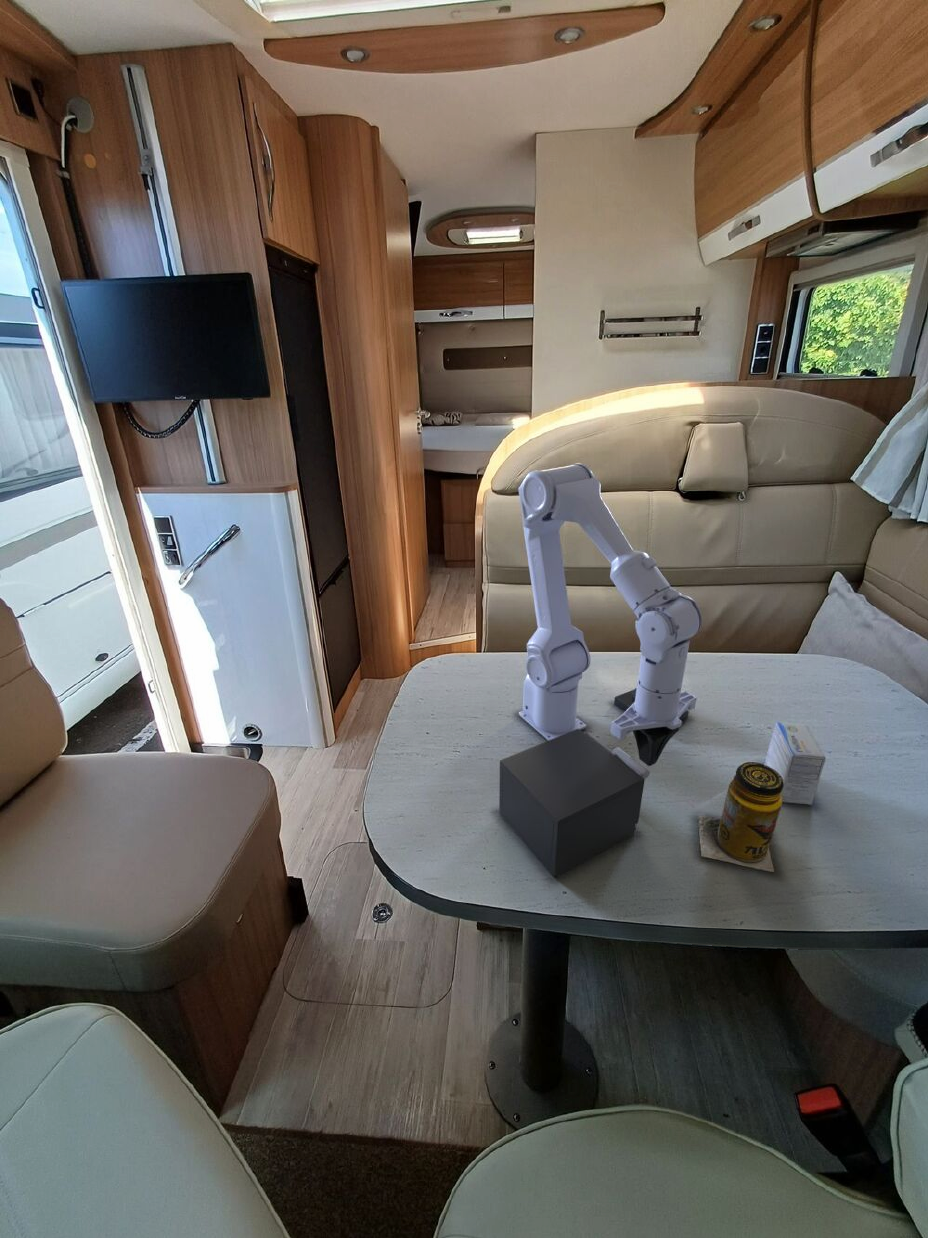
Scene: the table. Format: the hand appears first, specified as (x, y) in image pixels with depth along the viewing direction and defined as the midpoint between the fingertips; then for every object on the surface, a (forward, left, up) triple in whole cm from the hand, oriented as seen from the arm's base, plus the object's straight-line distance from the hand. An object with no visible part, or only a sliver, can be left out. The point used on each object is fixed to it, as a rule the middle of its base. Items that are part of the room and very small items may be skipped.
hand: (647, 761), depth 82 cm
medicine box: (+11, +18, -5) cm, 22 cm away
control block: (-13, +15, -4) cm, 20 cm away
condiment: (+14, +2, -5) cm, 15 cm away
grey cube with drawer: (0, -15, -4) cm, 16 cm away
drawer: (0, -11, -4) cm, 12 cm away
